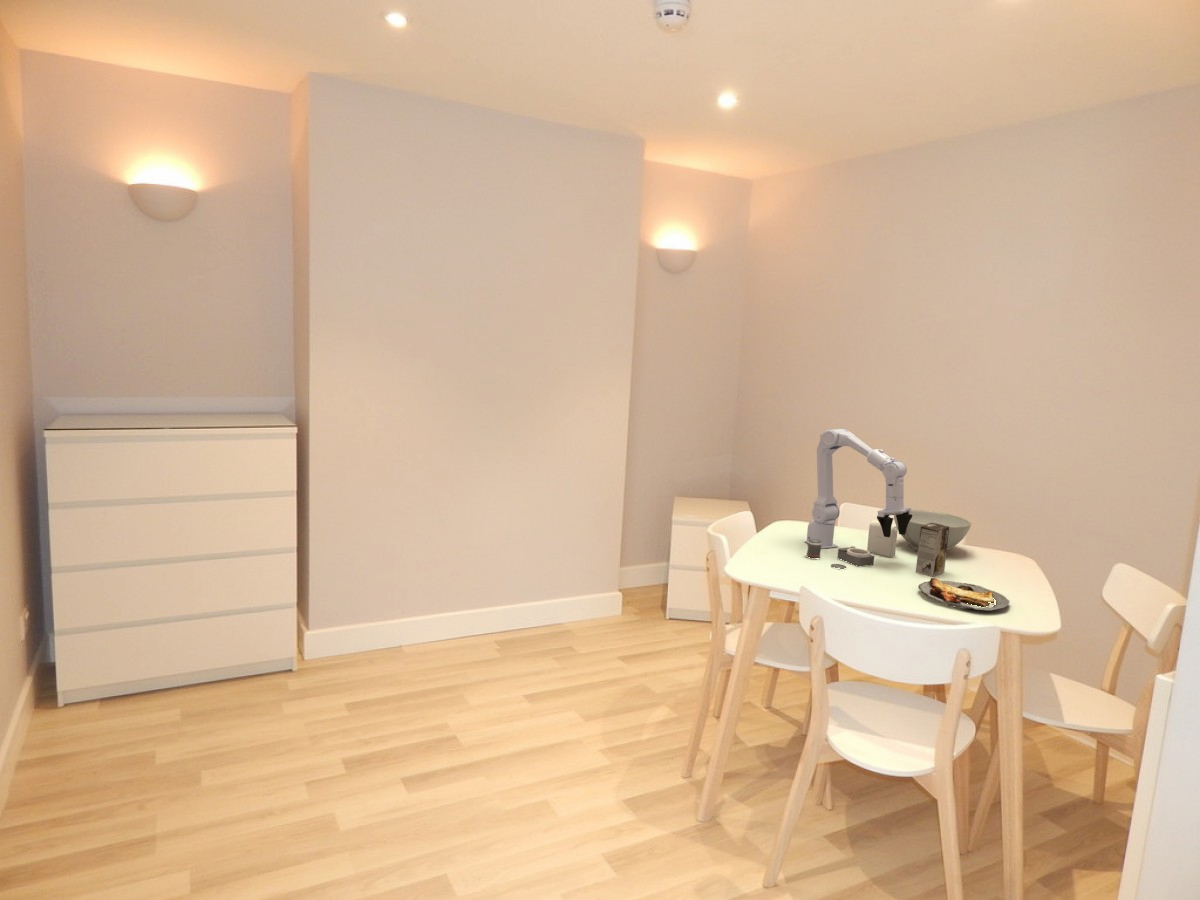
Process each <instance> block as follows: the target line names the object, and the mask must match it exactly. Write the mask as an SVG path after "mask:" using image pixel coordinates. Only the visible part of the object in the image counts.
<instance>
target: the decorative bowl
mask: <svg viewBox="0 0 1200 900" xmlns="http://www.w3.org/2000/svg"><path fill="white" fill-rule="evenodd" d="M909 514H912V518H911V520H910V521H909V523H908V526H907V529H906V533H905V535H901V534H900V535H901V538H903V539H904V540H905V541H906V542H907V543H908V544H910V548H911V549H913V550H916V551H918V548H919V539H920V531H921V526H924V525H926V524H929V523H937V524H941V525H944V526H949V535H948V543H947V550H949V549H951V548H954V547H955V546H957V545H958V544H960V542H961V541H962V540H963V539H964V538H965V537H966V535H967V534H968V532H969V530H970V529H971V526H972V523H971V522H970V521H969V519H966V518H963V517H961V516H958V515H954V514H949V513H944V512H940V511H934V510H933V511H931V510H925V509H924V510H923V509H911V513H909ZM893 518H894V519H893V521H894V523H895V524H894V525H896V526H897V528H898V522H897V518H896V515H893Z"/></svg>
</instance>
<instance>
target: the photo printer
mask: <svg viewBox="0 0 1200 900" xmlns="http://www.w3.org/2000/svg"><path fill="white" fill-rule="evenodd" d="M898 533H899V532H898V528H897V526H896V524H894V523H892V525H891V535H890V537H884V535H883V531H882V527H881V525H880V523H879V521H878V519H875V520H872V521H870V523H869V527H868V537H867V546H866V547H867V548H866V550H867V551H869V552H870V553H873V554H876V555H880V556H884V557H887V558H894V557H895V556H896V551H897V550H896V549H897V541H898Z"/></svg>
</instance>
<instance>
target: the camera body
mask: <svg viewBox="0 0 1200 900" xmlns="http://www.w3.org/2000/svg"><path fill="white" fill-rule="evenodd" d="M836 558H839V559H838V560H840V559H842V560H841V561H843V560H844V561H843V562H845V561H847V562H846V563H848V562H849V563H848V564H851V563H852V564H851V565H853V564H854V566H856V565H857V566H856V567H858V566H861V567H866V566H865V565H868V566H873V565H874V563H875V556H874V555H871V552H869V551H867V549H863V548H859V547H858V548H857V547H856V546H854V545H851V546H848V547H841V548H838V549H837V557H836Z"/></svg>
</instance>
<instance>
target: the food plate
mask: <svg viewBox="0 0 1200 900" xmlns="http://www.w3.org/2000/svg"><path fill="white" fill-rule="evenodd" d="M917 588H918V589H919V590H920V591H921V593H922V594H923V595H925V596H926V597H927V596H928V598H933V600H936V601H941V602H943V603H945V604H946V605H949V606H951V607H954V608H956V609H957V608H958V609H960V608H961V609H962V608H963V609H965V610H968V609H969V610H971V609H972V610H979V611H980V610H981V611H987V612H988V611H993V610H999V609H1005V608H1006V607H1008V606H1009V604H1010V600H1009V599H1008V598H1007V597H1006V596H1005V595H1003V594H1002V593H1000V592H997V591H995V590H991V589H988V588H986V587H983V586H981V585H976V584H972V583H965V582H958V581H953V580H952V581H951V580H940V579H939V578H936V577H931V578H930V580H929V581H928V580H927V581H923V582H921V583H919V584H918V587H917ZM993 598H994V599H995V600H996V605H994V606H993V607H992V606H990V605H991V604H990V603H988V602H991V603H994V599H993ZM967 603H968V604H967ZM971 604H972V605H977V606H970V605H971ZM965 605H966V606H965ZM979 606H981V607H979ZM986 606H989V607H986ZM982 607H985V608H982Z"/></svg>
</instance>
